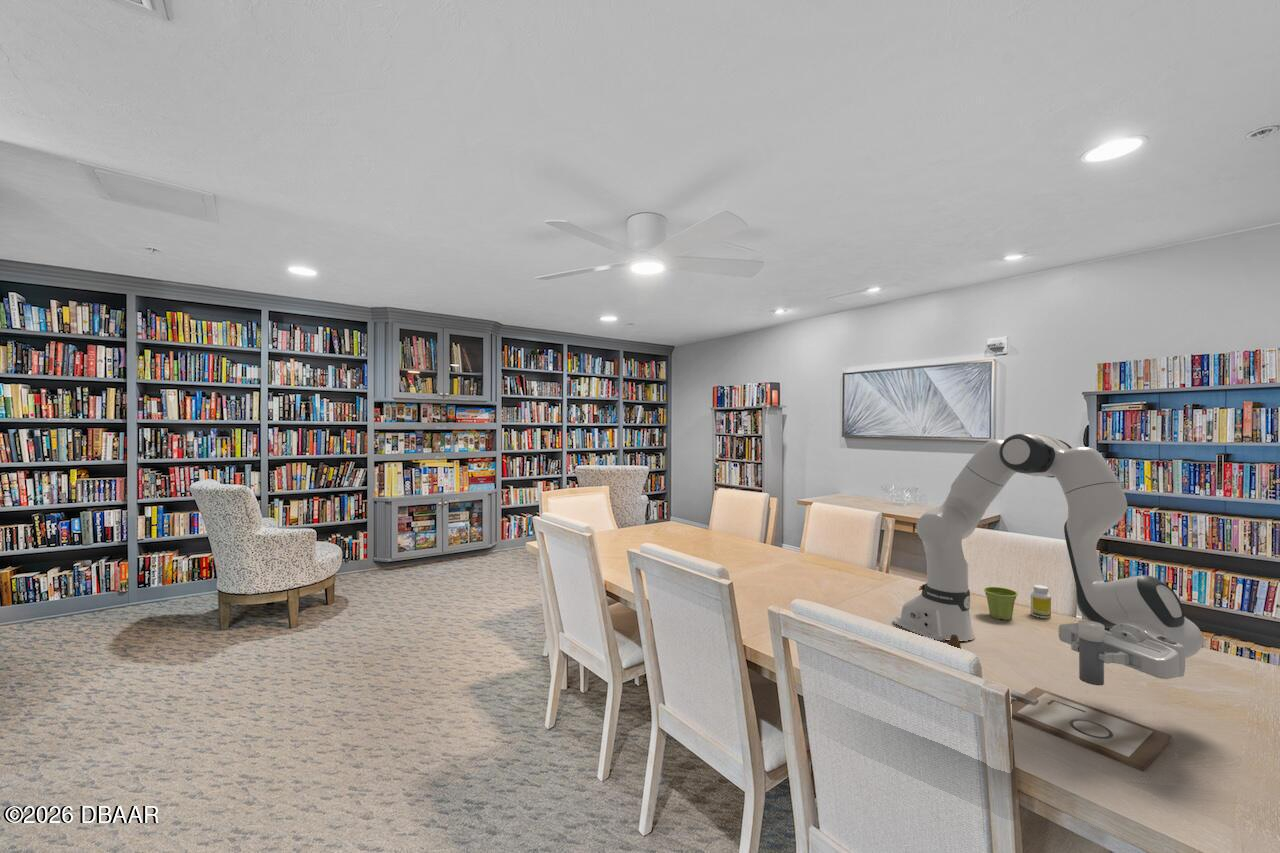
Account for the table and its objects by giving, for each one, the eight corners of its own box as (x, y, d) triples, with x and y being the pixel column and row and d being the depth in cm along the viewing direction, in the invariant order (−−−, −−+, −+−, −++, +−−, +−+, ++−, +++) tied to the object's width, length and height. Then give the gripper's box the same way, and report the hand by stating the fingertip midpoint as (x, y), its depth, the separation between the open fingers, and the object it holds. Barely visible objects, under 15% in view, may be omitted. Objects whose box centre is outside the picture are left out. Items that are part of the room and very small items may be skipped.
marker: (1075, 679, 113) (1075, 623, 113) (1082, 674, 115) (1082, 618, 115) (1100, 687, 109) (1100, 629, 109) (1107, 682, 112) (1107, 624, 112)
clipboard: (993, 710, 122) (993, 703, 122) (1028, 687, 131) (1028, 681, 131) (1143, 771, 100) (1143, 762, 100) (1171, 739, 110) (1171, 731, 110)
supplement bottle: (1054, 619, 176) (1054, 589, 175) (1035, 618, 177) (1035, 588, 176) (1045, 613, 181) (1045, 584, 181) (1027, 612, 182) (1027, 583, 182)
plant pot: (1005, 624, 172) (1005, 597, 172) (977, 614, 181) (977, 588, 181) (1024, 619, 175) (1024, 593, 175) (996, 610, 184) (996, 585, 184)
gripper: (1083, 613, 126) (1039, 620, 122) (1194, 648, 106) (1144, 658, 102) (1083, 640, 126) (1039, 647, 122) (1194, 680, 106) (1144, 690, 102)
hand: (1088, 652), depth 112 cm, fingers closed on marker, 4 cm apart
